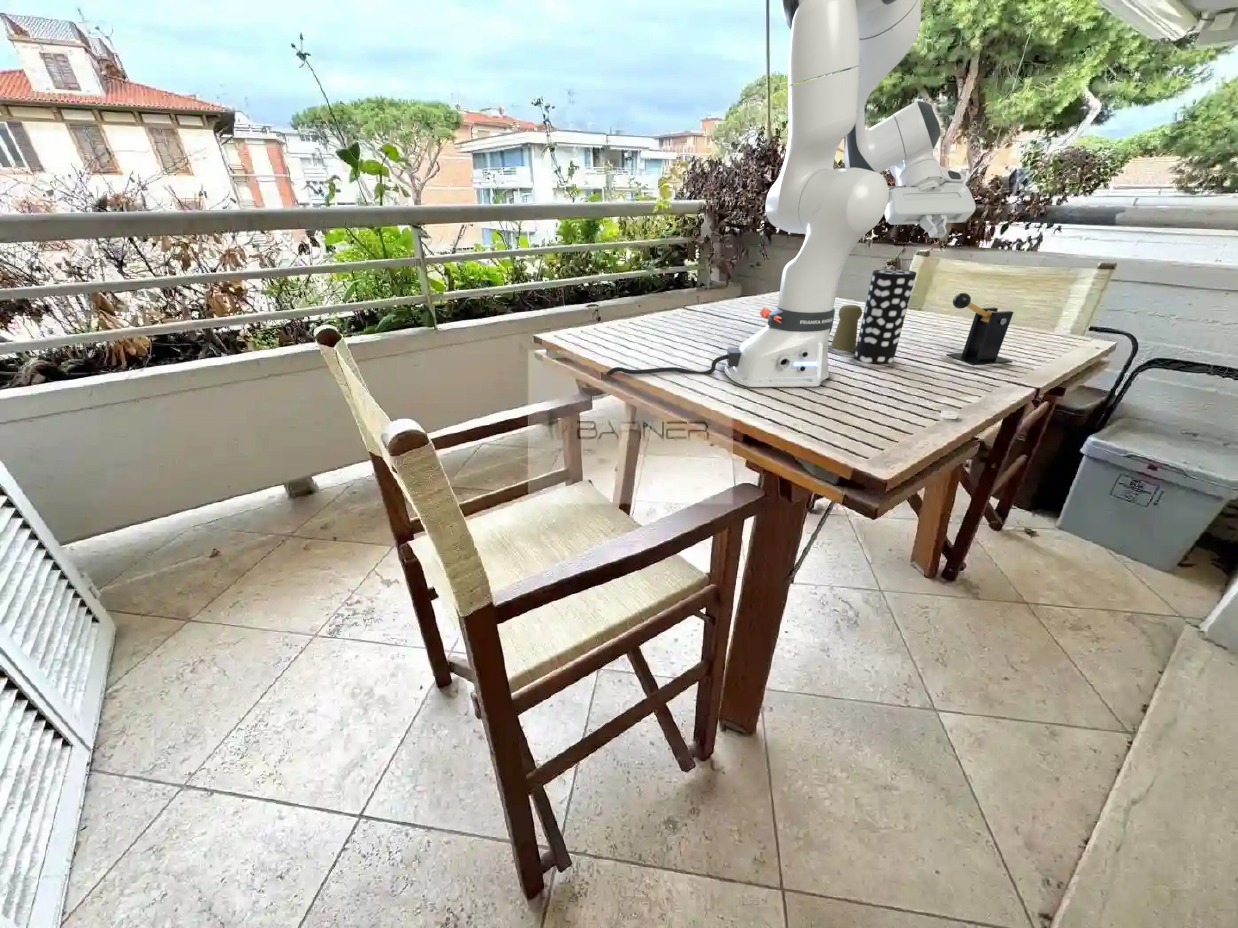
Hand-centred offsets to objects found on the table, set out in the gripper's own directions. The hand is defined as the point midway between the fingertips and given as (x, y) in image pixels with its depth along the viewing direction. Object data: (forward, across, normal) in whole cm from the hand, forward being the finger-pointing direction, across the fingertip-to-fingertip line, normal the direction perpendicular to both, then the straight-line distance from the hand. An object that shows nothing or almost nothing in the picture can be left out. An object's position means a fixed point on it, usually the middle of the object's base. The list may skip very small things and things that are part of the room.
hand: (938, 235), depth 108 cm
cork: (+16, -15, +22) cm, 31 cm away
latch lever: (+19, +4, +3) cm, 20 cm away
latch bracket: (+27, +9, +10) cm, 30 cm away
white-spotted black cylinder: (+23, -14, +14) cm, 31 cm away
